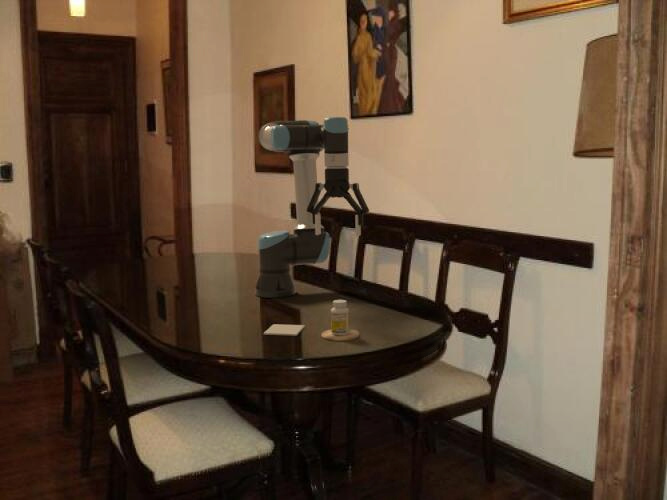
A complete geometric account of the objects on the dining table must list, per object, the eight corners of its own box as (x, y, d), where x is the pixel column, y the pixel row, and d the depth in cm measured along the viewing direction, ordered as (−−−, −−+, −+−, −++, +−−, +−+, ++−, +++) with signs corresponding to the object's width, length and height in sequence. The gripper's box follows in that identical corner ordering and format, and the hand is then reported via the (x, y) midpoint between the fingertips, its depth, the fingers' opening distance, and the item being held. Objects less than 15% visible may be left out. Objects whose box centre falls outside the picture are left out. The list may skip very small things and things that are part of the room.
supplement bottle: (341, 336, 198) (340, 304, 197) (327, 333, 202) (326, 301, 200) (353, 332, 202) (352, 300, 201) (339, 329, 206) (338, 298, 204)
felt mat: (263, 334, 205) (263, 332, 204) (273, 325, 214) (273, 324, 214) (296, 335, 202) (296, 334, 202) (304, 326, 212) (304, 325, 212)
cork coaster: (315, 339, 199) (315, 337, 199) (329, 329, 209) (329, 327, 209) (351, 342, 195) (351, 340, 195) (364, 332, 205) (364, 330, 205)
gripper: (295, 168, 217) (297, 235, 220) (370, 167, 208) (371, 237, 211) (305, 167, 224) (306, 232, 227) (378, 166, 215) (379, 234, 218)
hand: (337, 235), depth 219 cm, fingers open, 13 cm apart
